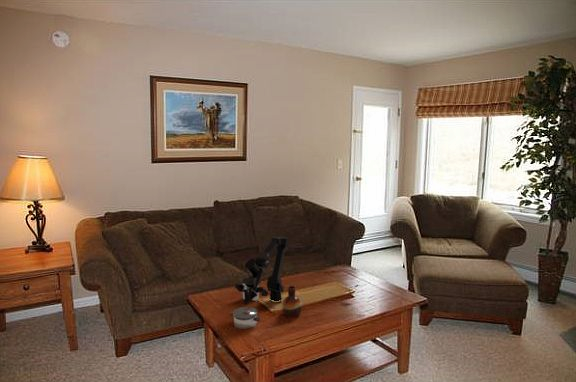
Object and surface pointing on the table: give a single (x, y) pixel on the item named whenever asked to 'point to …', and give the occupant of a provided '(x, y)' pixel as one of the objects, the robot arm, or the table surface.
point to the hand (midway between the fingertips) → (245, 304)
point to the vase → (292, 303)
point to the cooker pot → (245, 322)
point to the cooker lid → (245, 313)
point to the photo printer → (253, 298)
